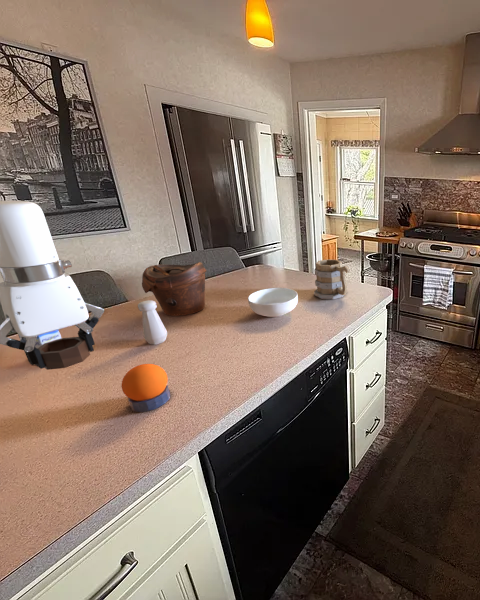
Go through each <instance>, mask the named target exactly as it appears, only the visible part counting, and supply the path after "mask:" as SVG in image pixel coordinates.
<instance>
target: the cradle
mask: <svg viewBox="0 0 480 600" xmlns="http://www.w3.org/2000/svg"><path fill="white" fill-rule="evenodd" d="M170 398H171V392H170V389H169V385H168V384H167V385H166V388H165V389H164V391H163V392H162V393H161V394H160V395H158V396H156V397H154V398H152V399H148V400H144V401H135V400H132V399H130V398H128V397H127V401H128V404H129V407H130V409H131V410H132V411H133V412H137V413H145V412H149V411H154V410H156V409H158V408H161V406H163V405H165V404H167V402H169V400H170Z"/></svg>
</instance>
